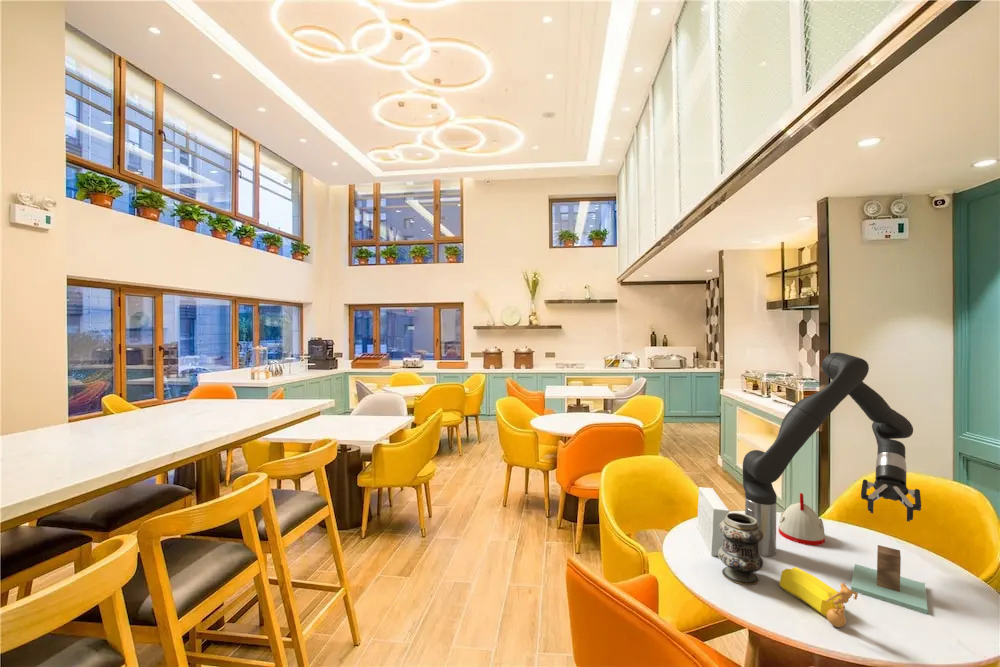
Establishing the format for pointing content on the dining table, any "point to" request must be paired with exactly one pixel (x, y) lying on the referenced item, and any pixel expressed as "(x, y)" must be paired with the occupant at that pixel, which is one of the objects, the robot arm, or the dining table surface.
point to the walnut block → (888, 568)
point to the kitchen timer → (801, 524)
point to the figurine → (836, 614)
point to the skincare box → (711, 519)
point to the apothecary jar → (740, 548)
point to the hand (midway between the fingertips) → (889, 516)
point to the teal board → (908, 596)
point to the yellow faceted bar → (809, 589)
